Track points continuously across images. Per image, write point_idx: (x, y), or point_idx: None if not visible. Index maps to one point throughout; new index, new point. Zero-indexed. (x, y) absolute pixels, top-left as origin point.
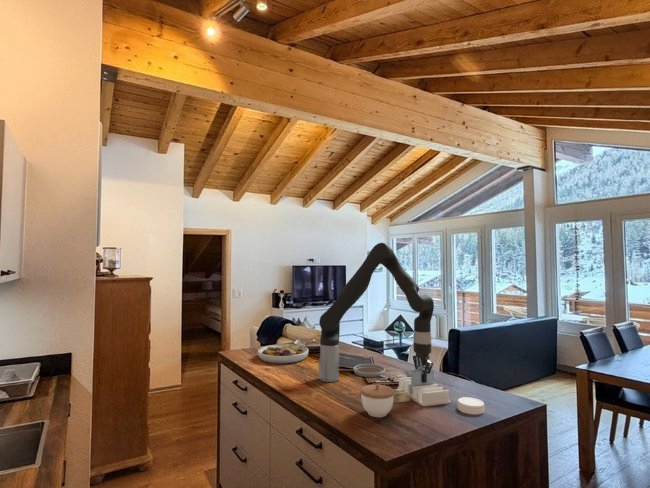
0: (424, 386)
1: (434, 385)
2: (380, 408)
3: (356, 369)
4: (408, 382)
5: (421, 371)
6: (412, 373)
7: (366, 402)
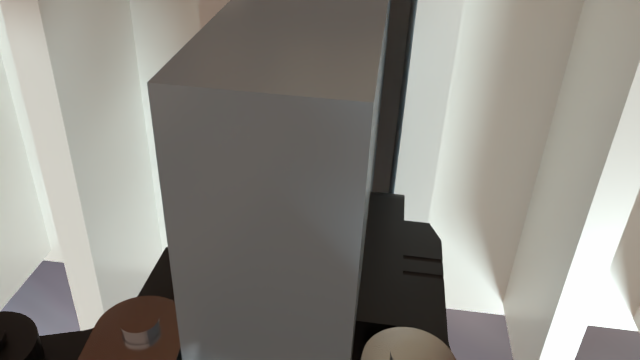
0: None
1: None
2: None
3: None
4: (633, 35)
5: (178, 356)
6: (274, 52)
7: None
